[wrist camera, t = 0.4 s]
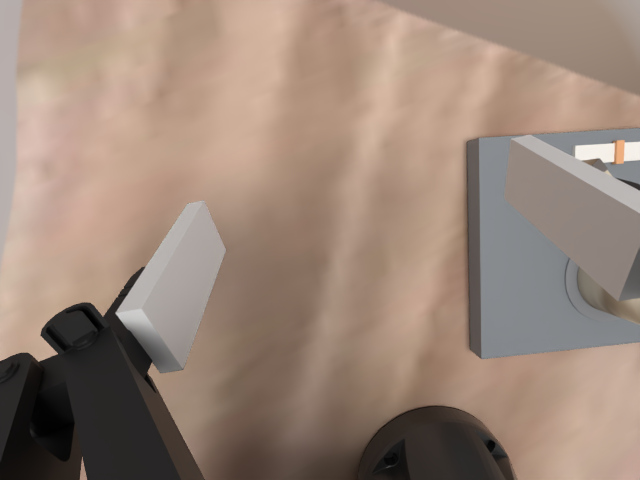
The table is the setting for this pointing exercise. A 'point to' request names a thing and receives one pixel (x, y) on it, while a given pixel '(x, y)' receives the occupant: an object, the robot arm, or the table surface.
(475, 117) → the table surface
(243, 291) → the table surface
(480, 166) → the grey base plate
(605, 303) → the lever
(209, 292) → the robot arm
